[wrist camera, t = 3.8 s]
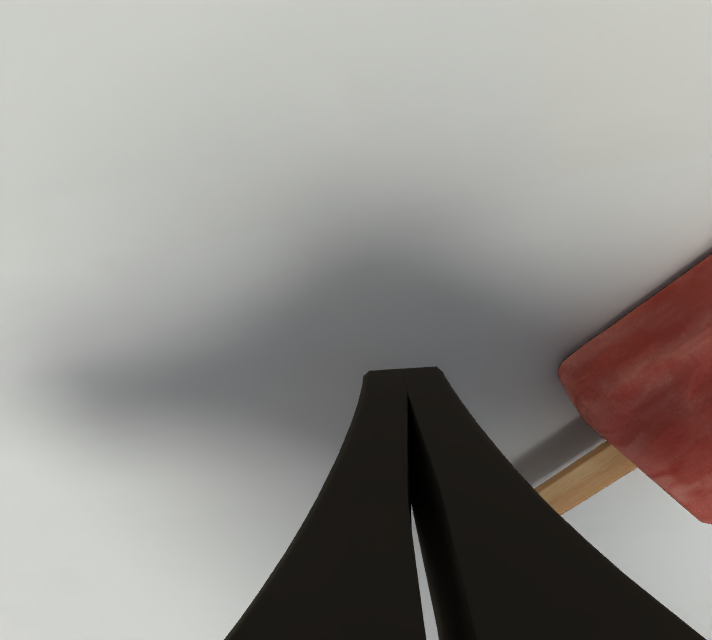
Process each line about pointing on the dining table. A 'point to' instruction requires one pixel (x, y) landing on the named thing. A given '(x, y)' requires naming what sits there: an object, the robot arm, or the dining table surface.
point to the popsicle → (647, 399)
